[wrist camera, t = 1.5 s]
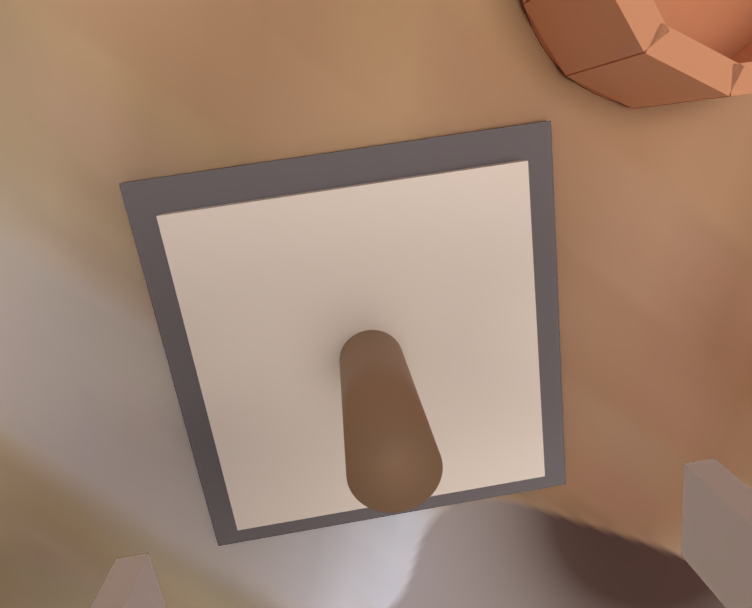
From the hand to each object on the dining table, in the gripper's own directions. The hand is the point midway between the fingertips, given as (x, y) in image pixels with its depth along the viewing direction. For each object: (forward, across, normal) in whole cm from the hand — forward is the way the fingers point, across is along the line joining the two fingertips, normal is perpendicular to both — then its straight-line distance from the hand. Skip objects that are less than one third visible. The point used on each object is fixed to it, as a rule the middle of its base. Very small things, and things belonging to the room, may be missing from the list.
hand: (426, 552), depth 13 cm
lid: (+14, -1, 0) cm, 14 cm away
